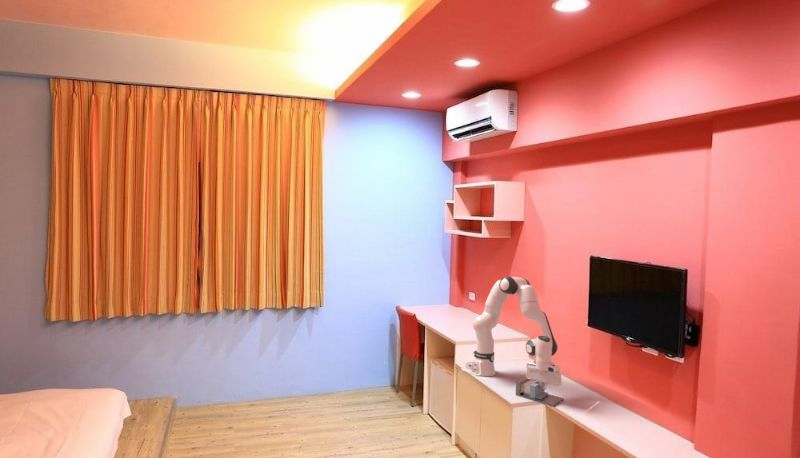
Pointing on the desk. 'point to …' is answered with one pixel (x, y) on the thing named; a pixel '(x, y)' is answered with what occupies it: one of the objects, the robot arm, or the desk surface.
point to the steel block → (527, 387)
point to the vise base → (547, 400)
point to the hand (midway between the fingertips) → (543, 389)
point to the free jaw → (537, 391)
